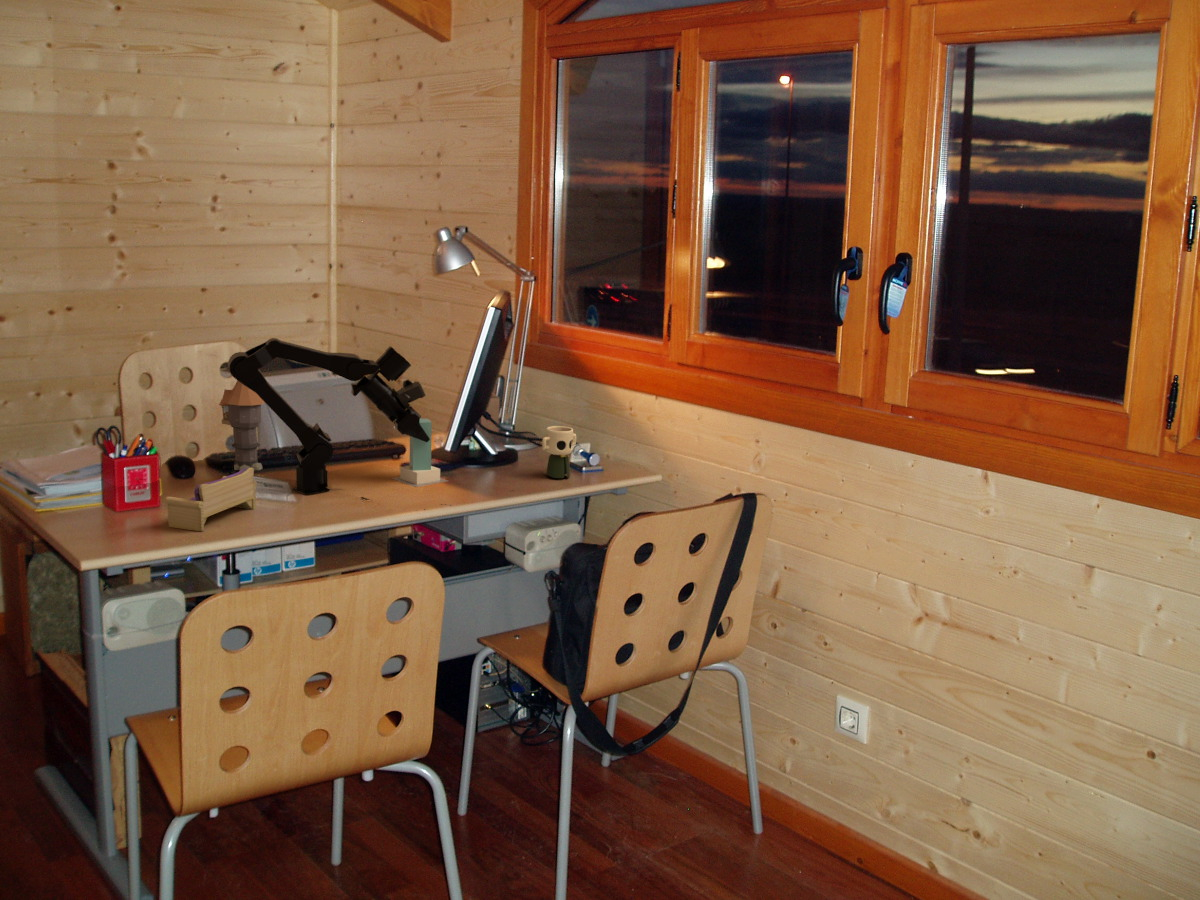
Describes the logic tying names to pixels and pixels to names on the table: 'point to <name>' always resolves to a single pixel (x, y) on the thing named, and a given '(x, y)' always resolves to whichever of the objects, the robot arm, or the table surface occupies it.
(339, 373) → the robot arm
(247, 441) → the model tower
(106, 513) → the table surface
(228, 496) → the toy sofa
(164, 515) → the table surface
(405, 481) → the grey baseplate
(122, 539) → the table surface
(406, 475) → the cream slab brick
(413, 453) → the teal column brick
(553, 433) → the character mug
